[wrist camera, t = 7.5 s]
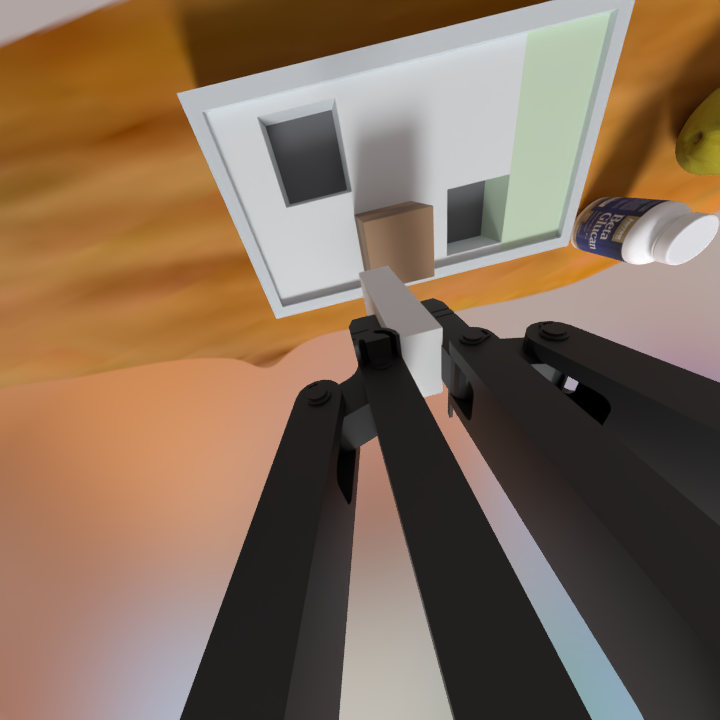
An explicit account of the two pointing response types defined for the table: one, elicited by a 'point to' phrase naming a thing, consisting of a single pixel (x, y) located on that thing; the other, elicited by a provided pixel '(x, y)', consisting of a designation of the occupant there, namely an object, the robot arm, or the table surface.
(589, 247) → the pill bottle
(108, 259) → the table surface
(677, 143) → the lemon
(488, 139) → the board
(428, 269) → the walnut block
